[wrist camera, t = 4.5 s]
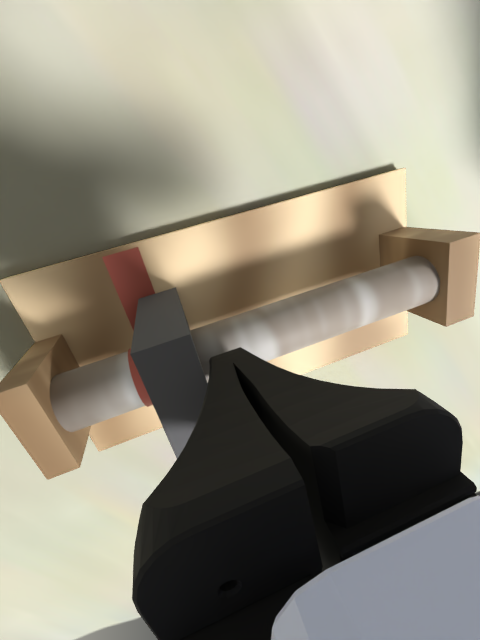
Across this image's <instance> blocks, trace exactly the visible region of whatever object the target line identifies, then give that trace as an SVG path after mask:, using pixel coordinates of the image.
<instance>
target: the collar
mask: <svg viewBox="0 0 480 640" xmlns="http://www.w3.org/2000/svg"><path fill="white" fill-rule="evenodd" d="M130 355H131V357H132V359H133V361H134V364H135V366H136V368H137V370H138V373H139V375H140V377H141V379H142V381H143V384H144V386H145V388H146V390H147V393H148V395H149V397H150V399H151V402H152V404H153V406H154V408H155V411H156V413H157V415H158V417H159V420H160V422H161V424H162V426H163V428H164V431H165V433H166V435H167V437H168V440H169V442H170V444H171V446H172V449H173V451H174V453H175V455H176V458H178V457H179V455H180V454H181V452H182V450H183V449H184V447H185V445H186V443H187V441H188V439H189V437H190V435H191V433H192V431H193V429H194V427H195V425H196V422H197V420H198V417H199V414H200V412H201V409H202V406H203V402H204V398H205V395H206V391H207V386H208V383H207V380H206V377H205V374H204V372H203V369H202V366H201V363H200V360H199V357H198V354H197V351H196V348H195V345H194V342H193V339H192V336H191V333H190V328H189V325H188V322H187V319H186V316H185V313H184V310H183V307H182V304H181V301H180V298H179V295H178V292H177V289H176V287H175V288H172V289H169V290H165V291H162V292H159V293H156V294H152V295H149V296H146V297H143V298H139V299H138V305H137V312H136V318H135V325H134V332H133V339H132V346H131V353H130Z"/></svg>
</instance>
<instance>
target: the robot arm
mask: <svg viewBox="0 0 480 640" xmlns="http://www.w3.org/2000/svg"><path fill="white" fill-rule="evenodd" d="M209 364H210V371H209V380H208V386H207V391H206V395H205V398H204V402H203V406H202V409H201V412H200V414H199V417H198V420H197V422H196V425H195V427H194V429H193V431H192V433H191V435H190V437H189V439H188V441H187V443H186V445H185V447H184V449H183V450H182V452H181V454H180V455H179V457H178V458H177V460H176V462H175V463H174V465H173V466H172V468H171V469H170V471H169V472H168V473H167V475H166V476H165V477H164V479H163V480H162V481H161V482H160V484H159V485H158V486H157V487H156V489H155V490H154V491H153V492H152V494H151V495H150V496H149V497H148V499H147V500H146V501H145V502H144V503H143V505H142V510H141V514H140V519H139V524H138V530H137V536H136V541H135V549H134V565H133V594H132V600H133V602H134V604H135V607H136V609H137V611H138V613H139V614H140V616H141V617H142V618H143V620H144V621H145V622H146V624H147V625H148V627H149V628H150V629H151V631H152V632H153V633H154V635H155V636H156V638H157V639H158V640H480V495H478V496H477V495H476V494H475V492H476V489H477V487H476V486H475V484H474V483H473V482H472V481H471V480H470V479H469V478H467V477H466V476H465V475H464V474H463V473H462V472H460V468H461V456H462V444H463V441H462V428H461V426H460V424H459V422H458V420H457V418H456V417H455V416H453V415H452V414H451V413H450V412H448V411H447V410H446V409H444V408H443V407H441V406H440V405H438V404H437V403H436V402H434V401H433V400H431V399H430V398H428V397H427V396H425V395H424V394H422V393H420V392H419V391H417V390H416V389H377V388H365V387H355V386H347V385H340V384H335V383H330V382H325V381H320V380H316V379H312V378H309V377H305V376H302V375H298V374H295V373H292V372H290V371H287V370H285V369H282V368H280V367H277V366H275V365H273V364H271V363H269V362H267V361H265V360H263V359H261V358H259V357H257V356H255V355H254V354H252V353H250V352H248V351H247V350H245V349H243V348H241V347H239V348H236V349H233V350H230V351H228V352H225V353H222V354H219V355H216V356H213V357H211V358H210V360H209Z"/></svg>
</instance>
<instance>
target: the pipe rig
mask: <svg viewBox="0 0 480 640" xmlns="http://www.w3.org/2000/svg"><path fill="white" fill-rule="evenodd" d="M479 247H480V233H477V232H464V231H451V230H438V229H424V228H411V227H406V168H401V169H396V170H392V171H389V172H385V173H382V174H378V175H374V176H371V177H367V178H363V179H360V180H356V181H353V182H349V183H345V184H342V185H338V186H335V187H331V188H327V189H324V190H320V191H317V192H313V193H309V194H306V195H302V196H298V197H295V198H291V199H288V200H284V201H280V202H277V203H273V204H270V205H266V206H262V207H259V208H255V209H252V210H248V211H244V212H241V213H237V214H234V215H230V216H226V217H223V218H219V219H215V220H212V221H208V222H205V223H201V224H197V225H194V226H190V227H187V228H183V229H179V230H176V231H172V232H169V233H165V234H161V235H158V236H154V237H151V238H147V239H143V240H140V241H136V242H132V243H129V244H125V245H122V246H118V247H114V248H111V249H107V250H104V251H100V252H96V253H93V254H89V255H86V256H82V257H78V258H75V259H71V260H68V261H64V262H60V263H57V264H53V265H49V266H46V267H42V268H39V269H35V270H31V271H28V272H24V273H21V274H17V275H13V276H10V277H6V278H4V279H2V280H0V283H1V285H2V287H3V288H4V290H5V292H6V293H7V295H8V297H9V299H10V300H11V302H12V304H13V305H14V307H15V309H16V311H17V312H18V314H19V316H20V317H21V319H22V321H23V323H24V324H25V326H26V328H27V329H28V331H29V333H30V335H31V336H32V338H33V340H34V341H35V343H34V344H33V345H32V346H31V348H30V349H29V350H28V351H27V352H26V353H25V354H24V356H23V357H22V358H21V359H20V360H19V361H18V363H17V364H16V365H15V366H14V367H13V368H12V369H11V371H10V372H9V373H8V374H7V375H6V376H5V378H4V379H3V380H2V381H1V382H0V414H1V416H2V417H3V418H4V420H5V421H6V423H7V424H8V425H9V427H10V428H11V430H12V431H13V432H14V434H15V435H16V437H17V438H18V439H19V441H20V442H21V444H22V445H23V446H24V448H25V449H26V450H27V452H28V453H29V455H30V456H31V457H32V459H33V460H34V462H35V463H36V464H37V466H38V467H39V469H40V470H41V471H42V473H43V474H44V476H45V477H46V478H47V480H48V479H51V478H53V477H56V476H59V475H61V474H64V473H66V472H69V471H72V470H74V469H77V468H79V467H80V465H81V461H82V458H83V454H84V450H85V447H86V443H87V440H88V436H89V435H90V437H91V439H92V441H93V442H94V444H95V446H96V447H97V449H98V451H102V450H104V449H107V448H110V447H112V446H115V445H118V444H120V443H123V442H126V441H128V440H131V439H133V438H136V437H139V436H141V435H144V434H147V433H149V432H152V431H155V430H157V429H160V428H162V427H163V426H162V424H161V422H160V420H159V417H158V415H157V413H156V411H155V408H154V406H153V404H152V402H151V399H150V397H149V395H148V393H147V390H146V388H145V386H144V384H143V381H142V379H141V377H140V375H139V373H138V370H137V368H136V366H135V364H134V361H133V359H132V357H131V355H130V353H131V346H132V339H133V332H134V325H135V318H136V312H137V305H138V299H139V298H143V297H146V296H149V295H152V294H156V293H159V292H162V291H165V290H169V289H172V288H175V287H176V289H177V292H178V295H179V298H180V301H181V304H182V307H183V310H184V313H185V316H186V319H187V322H188V325H189V328H190V333H191V336H192V339H193V342H194V345H195V348H196V351H197V354H198V357H199V360H200V363H201V366H202V369H203V372H204V374H205V377H206V380H207V383H208V380H209V371H210V364H209V360H210V358H211V357H213V356H216V355H219V354H222V353H225V352H228V351H230V350H233V349H236V348H239V347H241V348H243V349H245V350H247V351H248V352H250V353H252V354H254V355H255V356H257V357H259V358H261V359H263V360H265V361H267V362H269V363H271V364H273V365H275V366H277V367H280V368H282V369H285V370H287V371H290V372H292V373H295V374H298V375H302V374H305V373H307V372H310V371H312V370H315V369H318V368H320V367H323V366H326V365H328V364H331V363H334V362H336V361H339V360H341V359H344V358H347V357H349V356H352V355H355V354H357V353H360V352H363V351H365V350H368V349H370V348H373V347H376V346H378V345H381V344H384V343H386V342H389V341H391V340H394V339H397V338H399V337H402V336H405V335H407V334H408V311H409V312H411V313H413V314H416V315H418V316H421V317H423V318H426V319H428V320H431V321H433V322H436V323H438V324H441V325H443V326H446V327H447V326H449V325H452V324H454V323H457V322H460V321H462V320H465V319H467V318H470V317H473V316H474V306H475V294H476V283H477V271H478V259H479Z"/></svg>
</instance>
